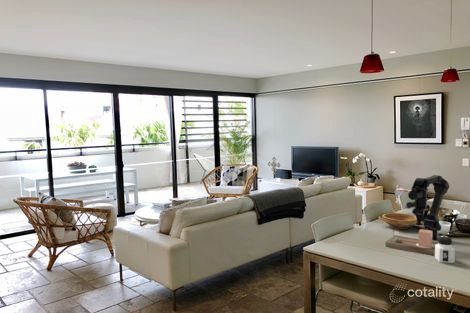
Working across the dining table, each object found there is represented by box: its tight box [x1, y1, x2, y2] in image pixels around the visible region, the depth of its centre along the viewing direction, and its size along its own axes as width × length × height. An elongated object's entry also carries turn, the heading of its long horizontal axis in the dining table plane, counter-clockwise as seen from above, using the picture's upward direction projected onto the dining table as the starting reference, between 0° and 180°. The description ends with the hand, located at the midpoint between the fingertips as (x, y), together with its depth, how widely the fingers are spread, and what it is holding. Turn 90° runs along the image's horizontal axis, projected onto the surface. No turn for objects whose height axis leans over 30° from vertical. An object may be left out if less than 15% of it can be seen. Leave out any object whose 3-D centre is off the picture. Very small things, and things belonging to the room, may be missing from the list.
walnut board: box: [385, 234, 438, 257], centre depth 224 cm, size 18×28×5 cm, turn 50°
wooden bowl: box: [378, 212, 418, 230], centre depth 270 cm, size 30×24×8 cm
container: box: [434, 235, 456, 264], centre depth 201 cm, size 8×8×13 cm
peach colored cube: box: [418, 228, 433, 248], centre depth 217 cm, size 6×6×8 cm
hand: (420, 222), depth 232 cm, fingers open, 9 cm apart
